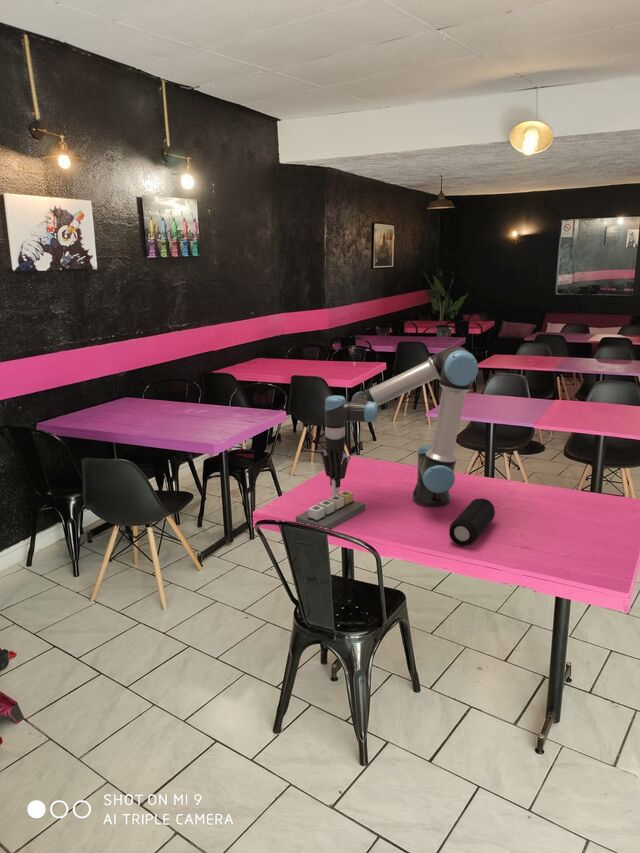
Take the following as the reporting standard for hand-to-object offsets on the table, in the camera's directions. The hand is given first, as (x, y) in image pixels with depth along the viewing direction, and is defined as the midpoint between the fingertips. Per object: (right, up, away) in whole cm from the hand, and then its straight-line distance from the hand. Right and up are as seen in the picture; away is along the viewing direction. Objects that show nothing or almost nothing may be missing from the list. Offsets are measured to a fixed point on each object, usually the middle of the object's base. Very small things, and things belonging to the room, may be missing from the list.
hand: (335, 494), depth 243 cm
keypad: (-2, -8, 0) cm, 9 cm away
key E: (-7, -8, -7) cm, 13 cm away
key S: (+4, -3, +6) cm, 8 cm away
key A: (-4, -6, -3) cm, 8 cm away
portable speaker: (+49, -13, -16) cm, 53 cm away
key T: (0, -5, +1) cm, 5 cm away
